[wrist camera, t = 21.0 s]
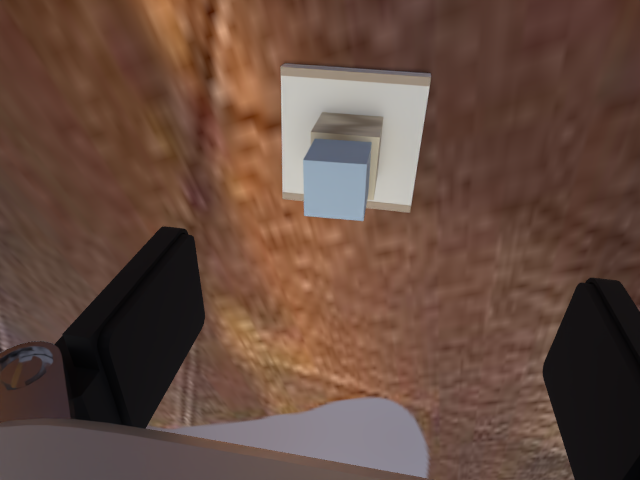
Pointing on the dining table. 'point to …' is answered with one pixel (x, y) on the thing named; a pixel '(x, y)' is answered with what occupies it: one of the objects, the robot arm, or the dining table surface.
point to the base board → (359, 99)
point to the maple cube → (353, 136)
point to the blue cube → (336, 179)
